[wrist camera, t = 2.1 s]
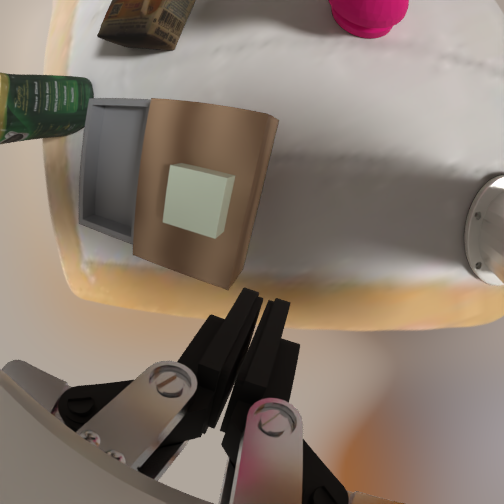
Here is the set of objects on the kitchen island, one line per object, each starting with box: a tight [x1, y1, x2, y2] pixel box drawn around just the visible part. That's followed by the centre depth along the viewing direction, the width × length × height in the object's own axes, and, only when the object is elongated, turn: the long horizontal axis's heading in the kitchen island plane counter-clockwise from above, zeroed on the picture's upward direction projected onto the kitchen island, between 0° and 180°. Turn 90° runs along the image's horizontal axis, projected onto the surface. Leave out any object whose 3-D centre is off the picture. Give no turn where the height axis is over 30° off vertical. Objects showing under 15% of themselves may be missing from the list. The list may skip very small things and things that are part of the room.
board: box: [133, 98, 279, 290], centre depth 26 cm, size 11×16×5 cm
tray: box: [79, 98, 151, 244], centre depth 29 cm, size 10×16×3 cm, turn 167°
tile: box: [163, 163, 235, 239], centre depth 23 cm, size 5×5×2 cm
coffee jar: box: [0, 73, 94, 144], centre depth 21 cm, size 10×8×19 cm
